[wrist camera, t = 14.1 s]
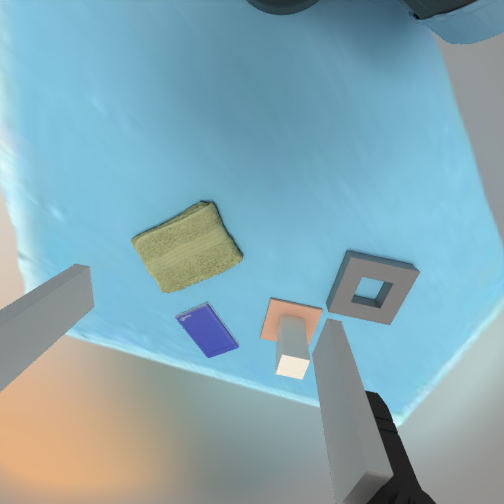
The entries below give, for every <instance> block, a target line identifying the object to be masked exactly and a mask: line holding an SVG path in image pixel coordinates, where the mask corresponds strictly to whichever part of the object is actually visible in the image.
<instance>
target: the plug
mask: <svg viewBox="0 0 504 504" xmlns="http://www.w3.org/2000/svg"><path fill="white" fill-rule="evenodd" d="M309 362H310V356H309V349H308V342H307V335H306V328H305V321H304V319H303V318H299V317H294V316H290V315H285V314H281V317H280V320H279V323H278V327H277V330H276V374H279V375H284V376H288V377H293V378H297V379H303V377H304V374H305V372H306V369H307V367H308V365H309Z"/></svg>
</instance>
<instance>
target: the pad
mask: <svg viewBox="0 0 504 504" xmlns="http://www.w3.org/2000/svg"><path fill="white" fill-rule="evenodd" d="M321 313H322V309H321V308H317V307H312V306H308V305H303V304H298V303H294V302H289V301H285V300H280V299H276V298H271V299H270V303H269V306H268V310H267V314H266V317H265V321H264V325H263V328H262V332H261V336H260V338H263V339H267V340H272V341H276V330H277V327H278V323H279V320H280V317H281V314H285V315H290V316H294V317H299V318H303V319H304V321H305V328H306V335H307V342H308V346H309V343H310V341H311V338H312V336H313V333H314V331H315V328H316V326H317V323H318V321H319V318H320V315H321Z"/></svg>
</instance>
